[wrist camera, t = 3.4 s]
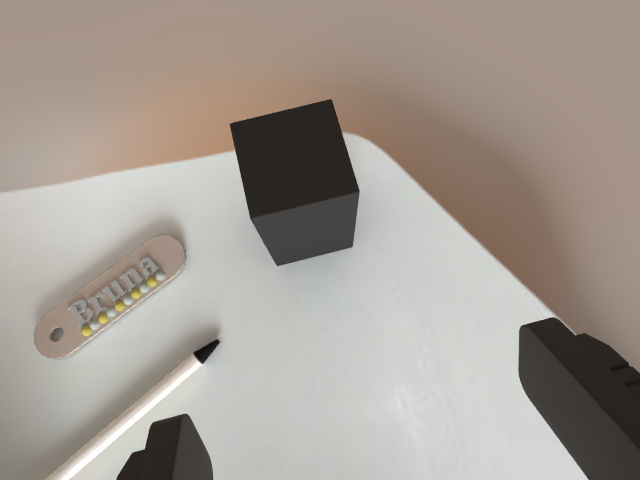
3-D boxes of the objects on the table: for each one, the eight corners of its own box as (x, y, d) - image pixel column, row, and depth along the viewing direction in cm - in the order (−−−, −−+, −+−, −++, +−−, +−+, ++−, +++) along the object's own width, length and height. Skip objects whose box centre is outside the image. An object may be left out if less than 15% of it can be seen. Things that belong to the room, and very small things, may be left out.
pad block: (333, 177, 30) (331, 98, 21) (352, 247, 28) (360, 192, 20) (260, 195, 30) (229, 123, 21) (276, 266, 28) (250, 219, 19)
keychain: (45, 368, 26) (21, 328, 27) (51, 368, 27) (28, 329, 27) (192, 259, 28) (166, 224, 28) (195, 261, 28) (169, 227, 29)
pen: (-58, 568, 24) (-76, 578, 23) (218, 333, 27) (213, 332, 26) (-50, 583, 24) (-68, 593, 23) (227, 344, 27) (223, 343, 26)
